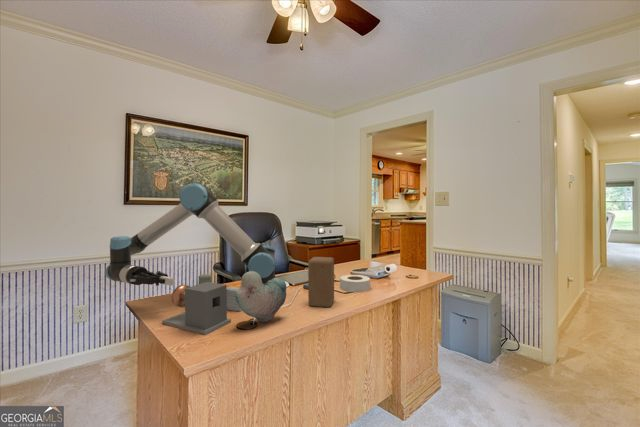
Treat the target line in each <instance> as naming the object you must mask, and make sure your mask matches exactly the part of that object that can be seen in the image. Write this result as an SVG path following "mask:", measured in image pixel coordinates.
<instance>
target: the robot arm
mask: <svg viewBox="0 0 640 427" xmlns="http://www.w3.org/2000/svg"><path fill="white" fill-rule="evenodd" d="M192 215H193V216H196V218H197V219H203V220H205V221H206V223H208V224H209V226H211V227H212V228H213V230H214V231H216V232H217V234H218V235H220V237H221V238H223V239H224V241H225V242H226V243H227V244H228V245H230V247H231V248H232V249H233V250H234V251H235V252H236V253H238V255H239V256H240V258H241V263H243V264H244V265H245V267H247V268H248V272H249V271H254V272H257V273H258V274H259V275H260V277H261V280H262V283H263V284H266V283H267V282H268V281H269V280H272V279H273V278H277V277H276V273H275V272H276V268H275V267H276V259H275V257H276V256H275V255H276V254H275V253H276V249H275V246H274V245H262V244H261V243H260V242H254V240H253V239H252V238H251V237H250V236H249V235H248V234H247V233H246V232H245V231H244V230H243V229H242V228H241V227H240V226H239V225H238V224H237V223H236V222H235V221H234V219H232V218H231V217H230V216H229V215H228V214H227V213H226V212H225V211H224V210H223V208H221V207H220V206H219V200H218V199H217V198H216V197H215V196H214V193H213V191H212V190H211V188H209V187H208V186H206V185H205V184H204V185H203V184H200V183H198V182H195V183H194V182H193V183H189V184H186V185H185V186H183V187H182V188H181V189H180V192H179V204H178V205H176V206H174V207H173V208H172V209H171V210H170V211H168V212H166V213H165V214H163V215H162V216H160V217H159V218H158V219H156V220H155V221H153V222H152V223H150V224H149V225H148V226H146V227H145V228H143V229H142V230H140V231H139V232H137V233H136V234H135V235H133V236H132V237H130V236H125V235H124V236H122V235H120V236H112V237H111V238H110V241H109V258H110V259H109V261H110V262H109V264H108V266H106V268H105V272H104V275H105V277H106V278H107V279H109V280H112V281H114V282H120V283H124V284H125V283H126V284H128V285H136V286H140V285H154V284H155V286H156V287H157V286H158V287H159V286H160V284H161V285H164V286H165V285H166V286H174V285H175V278H174V277H170V276H169V275H168V274H166V273H164V272H161V271H160V270H158V271H156V272H152V271H149V270H148V269H147V268H146V267H144V266H140V265H134V264H133V265H132V263H131V262H132V256H133V255H135V254H140V253H141V252H143V251H144V250H146V248H147V247H148V246H150V245H152V244H153V243H154V242H155V241H157V240H158V239H160V238H161V237H163V236H164V235H166V234H167V233H168V232H170V231H171V230H172V229H174V228H175V227H177V226H178V225H180V224H181V223H183V222H185V220H187V219H188V218H189V217H191V216H192Z"/></svg>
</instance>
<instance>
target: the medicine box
mask: <svg viewBox="0 0 640 427" xmlns="http://www.w3.org/2000/svg"><path fill="white" fill-rule="evenodd" d="M226 288H227V311H232V312H233V311H235V312H243V311H242V310H241V309H240V307H239V305H238V303H237V301H236V298H235V293H236V291H237V290H238V289H239V288H240V287H234V286H229V287H226Z"/></svg>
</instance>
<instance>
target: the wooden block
mask: <svg viewBox="0 0 640 427" xmlns="http://www.w3.org/2000/svg"><path fill="white" fill-rule="evenodd" d="M307 264H308V266H307V267H308V268H307V269H308V270H307V272H308V273H307V274H308V277H307V278H308V280H307V281H308V287H307V288H308V294H307V296H308V297H307V298H308V306H309V307H318V308H319V307H321V308H330V307H331V306H333V305H332V304H333V302H334V301H335V258H333V257H330V256H329V257H328V256H327V257H325V256H313V257H312V258H310V259H309V260H308V262H307Z"/></svg>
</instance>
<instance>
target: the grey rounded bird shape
mask: <svg viewBox="0 0 640 427" xmlns="http://www.w3.org/2000/svg"><path fill="white" fill-rule="evenodd" d="M238 288H239V289H238V290H237V291H236V293H235V298H236V301H237V303H238V305H239V307H240V309H241V310H242V311H241V312H243V313H244V314H246V315H247V316H248V317H249V316H250V317H252V318H255V319H256V320H257V321H258V322H260V323H267V322H269V321H270V320H271V319H272V318H274V316H275V315H277V313H278V311H279V310H280V309H281V307H282V306H283V305H284V304H285V301H286V298H287V283H286V281H285V280H284V279H282V278H278V277H276V278H273V279H272V280H269V281H268V282H267V283H266V284H263V283H262V280H261V277H260V275H259V274H258V273H257V272H254V271H249V270H248V271H247V272H245V273H244V274H243V275H242V276H241V285H240V287H238Z"/></svg>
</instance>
